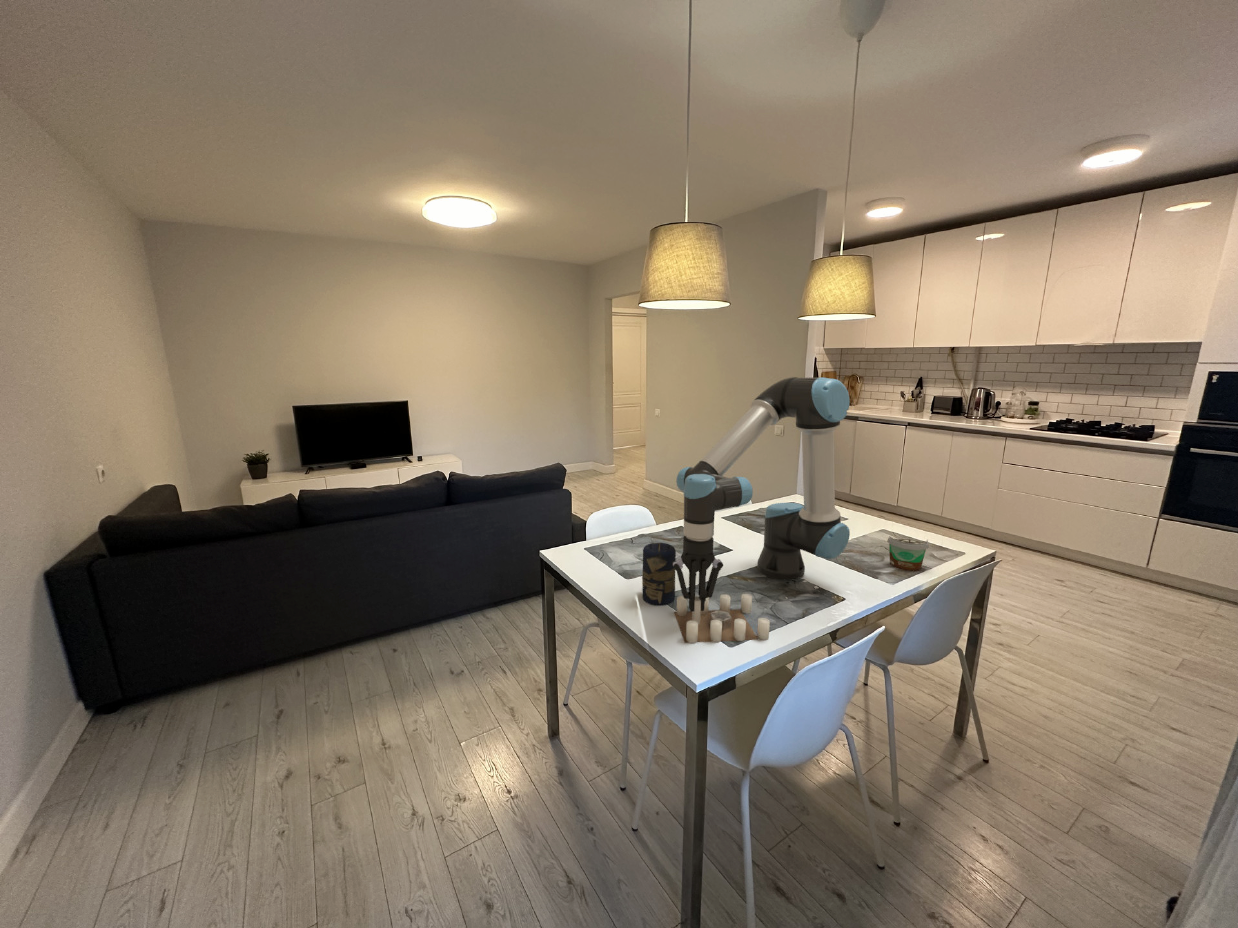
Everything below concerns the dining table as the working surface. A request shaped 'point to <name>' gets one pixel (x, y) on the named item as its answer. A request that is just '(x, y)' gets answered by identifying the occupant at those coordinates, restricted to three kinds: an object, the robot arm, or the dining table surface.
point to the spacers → (717, 624)
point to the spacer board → (705, 626)
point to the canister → (658, 574)
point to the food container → (907, 553)
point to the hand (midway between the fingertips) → (696, 621)
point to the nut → (721, 618)
